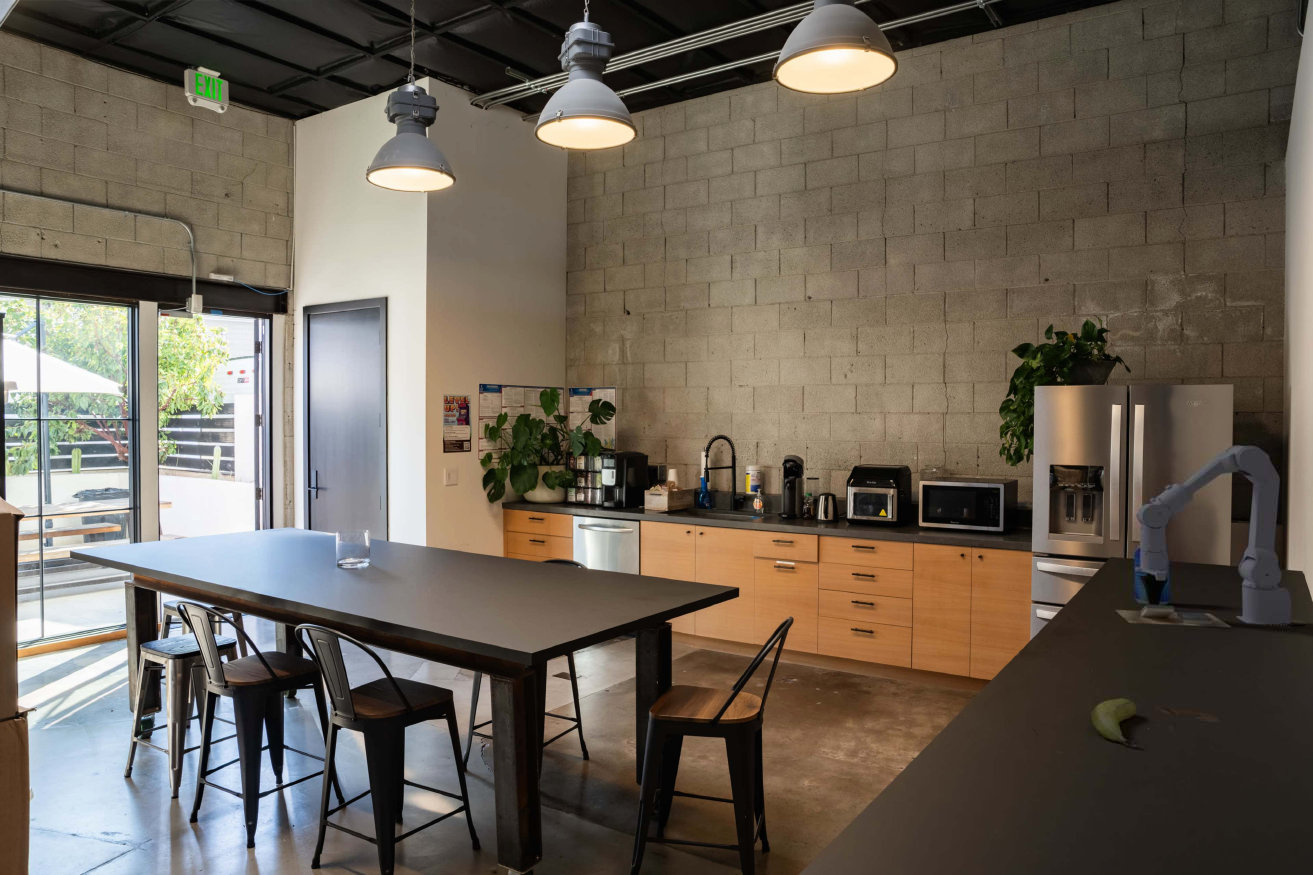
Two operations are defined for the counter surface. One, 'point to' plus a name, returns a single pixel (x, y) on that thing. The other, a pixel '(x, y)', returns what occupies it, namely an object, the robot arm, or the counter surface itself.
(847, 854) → the counter surface
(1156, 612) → the tile far
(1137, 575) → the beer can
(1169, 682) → the counter surface
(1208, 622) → the tile near
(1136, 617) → the cork mat
